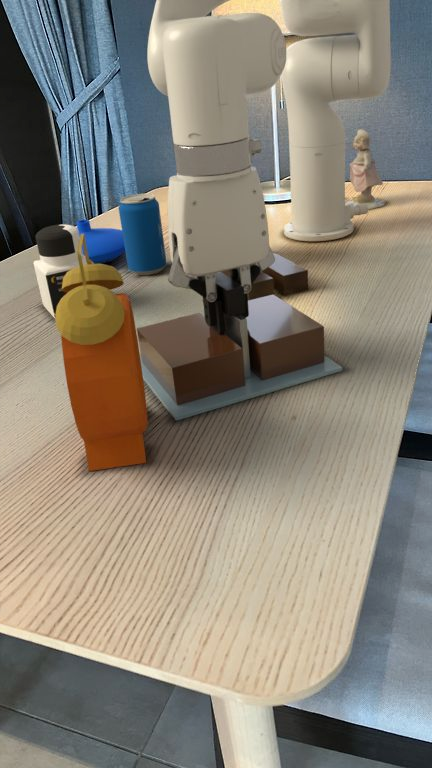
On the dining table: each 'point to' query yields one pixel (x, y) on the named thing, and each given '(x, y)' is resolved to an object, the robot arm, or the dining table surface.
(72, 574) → the dining table surface
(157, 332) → the cake
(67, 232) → the medicine bottle
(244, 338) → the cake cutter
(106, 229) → the vase
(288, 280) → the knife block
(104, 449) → the alarm clock
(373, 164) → the figurine
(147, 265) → the beverage can
